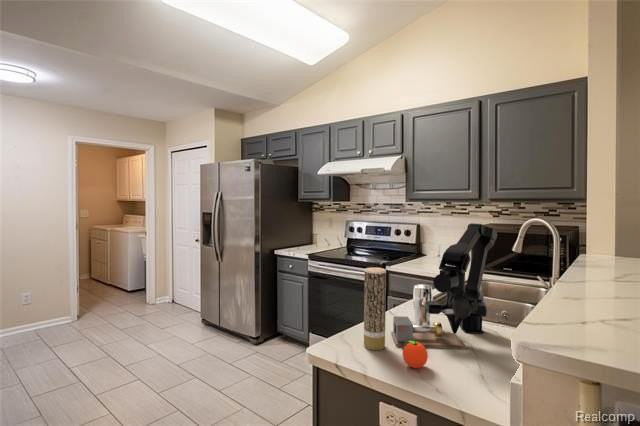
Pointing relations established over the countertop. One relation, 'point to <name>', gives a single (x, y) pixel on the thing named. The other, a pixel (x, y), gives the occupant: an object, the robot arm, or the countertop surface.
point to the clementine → (415, 354)
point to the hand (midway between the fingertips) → (454, 333)
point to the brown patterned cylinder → (374, 308)
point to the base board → (434, 340)
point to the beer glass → (422, 304)
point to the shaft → (429, 329)
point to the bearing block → (402, 329)
